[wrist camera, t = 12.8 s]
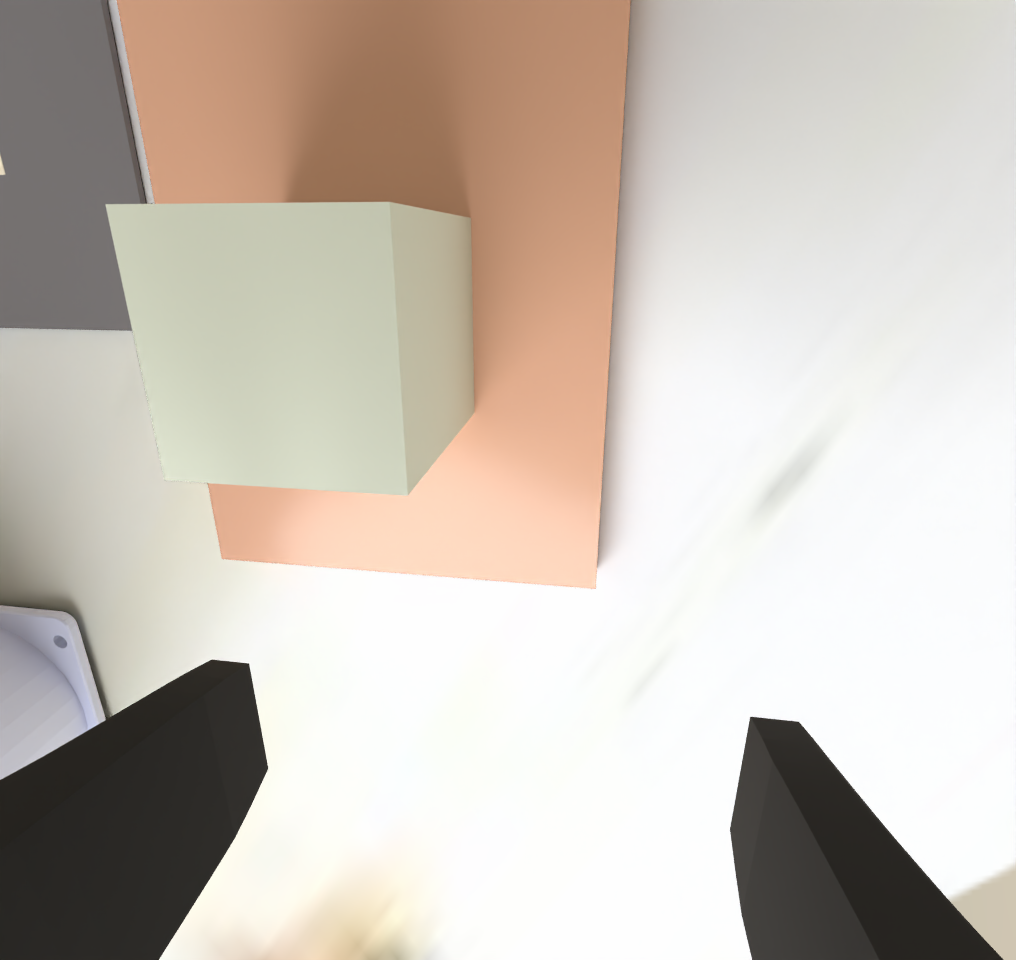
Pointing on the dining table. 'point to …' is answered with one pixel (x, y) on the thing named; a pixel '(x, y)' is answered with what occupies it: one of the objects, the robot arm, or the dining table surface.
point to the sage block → (300, 339)
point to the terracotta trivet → (434, 186)
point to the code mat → (62, 166)
